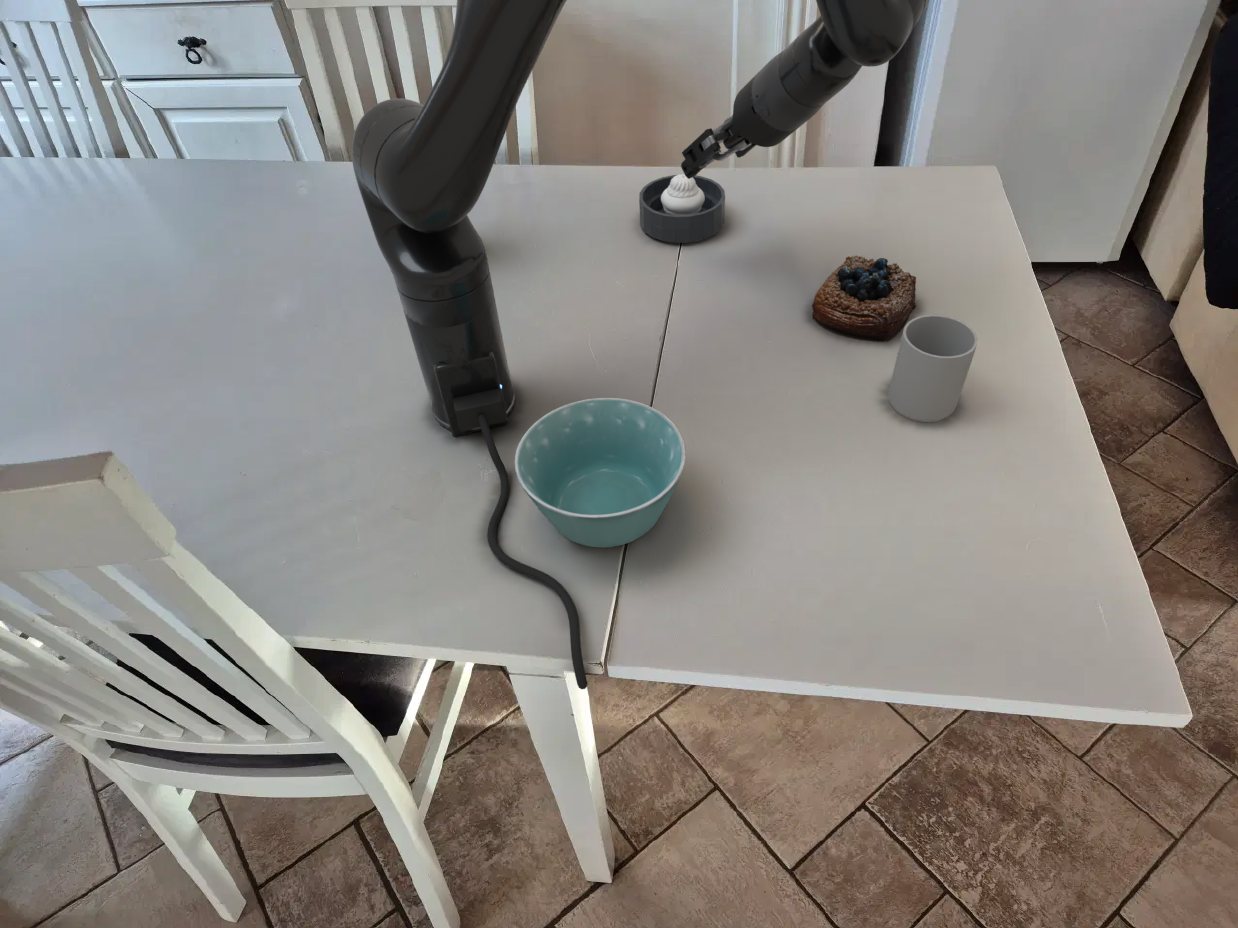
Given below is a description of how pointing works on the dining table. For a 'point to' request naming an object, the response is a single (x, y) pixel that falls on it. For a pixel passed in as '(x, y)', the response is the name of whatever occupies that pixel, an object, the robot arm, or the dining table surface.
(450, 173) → the robot arm
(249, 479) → the dining table surface
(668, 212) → the white cupcake
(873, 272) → the pastry
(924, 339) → the cup
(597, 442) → the bowl
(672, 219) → the grey shallow dish
